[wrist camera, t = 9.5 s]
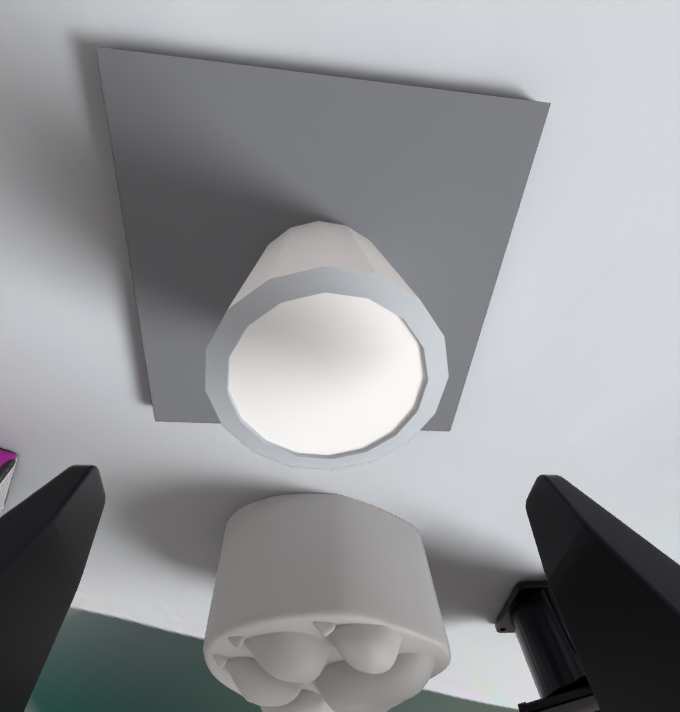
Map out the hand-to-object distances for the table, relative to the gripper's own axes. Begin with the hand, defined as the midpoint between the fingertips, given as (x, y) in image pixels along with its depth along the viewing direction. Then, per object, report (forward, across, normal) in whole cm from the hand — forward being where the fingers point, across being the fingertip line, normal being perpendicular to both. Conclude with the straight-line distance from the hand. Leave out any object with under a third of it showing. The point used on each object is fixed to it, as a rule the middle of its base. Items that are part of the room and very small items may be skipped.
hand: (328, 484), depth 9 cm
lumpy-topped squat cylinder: (+12, -2, +19) cm, 23 cm away
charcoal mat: (+12, 0, 0) cm, 12 cm away
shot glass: (+11, 0, 0) cm, 11 cm away
